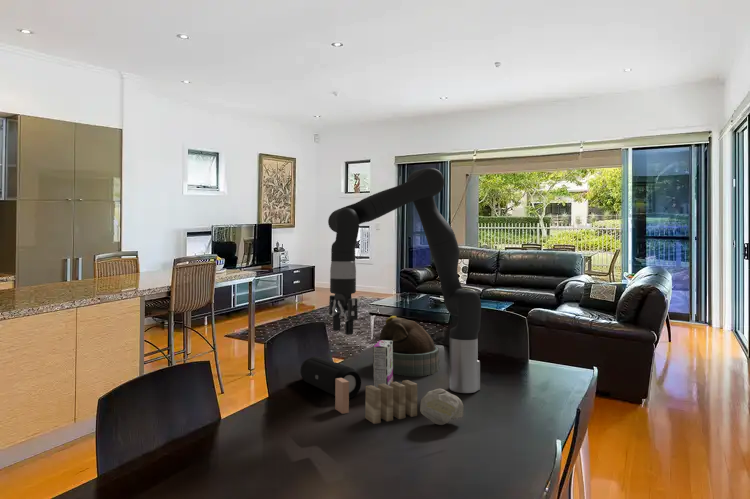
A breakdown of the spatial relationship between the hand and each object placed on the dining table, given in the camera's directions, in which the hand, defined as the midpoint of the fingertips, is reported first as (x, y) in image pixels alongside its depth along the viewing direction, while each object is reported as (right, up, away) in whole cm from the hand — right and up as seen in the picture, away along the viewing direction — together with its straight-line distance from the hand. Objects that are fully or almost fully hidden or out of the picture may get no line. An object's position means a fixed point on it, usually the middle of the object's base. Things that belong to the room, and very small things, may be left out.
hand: (342, 332), depth 142 cm
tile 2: (+16, -23, -4) cm, 28 cm away
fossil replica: (+28, -23, -12) cm, 38 cm away
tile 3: (+12, -23, -6) cm, 27 cm away
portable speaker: (-6, -23, +20) cm, 32 cm away
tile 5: (0, -23, 0) cm, 23 cm away
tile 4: (+9, -23, -8) cm, 26 cm away
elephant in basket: (+22, -24, +44) cm, 55 cm away
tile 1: (+19, -23, -2) cm, 30 cm away
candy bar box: (+12, -23, +19) cm, 32 cm away
